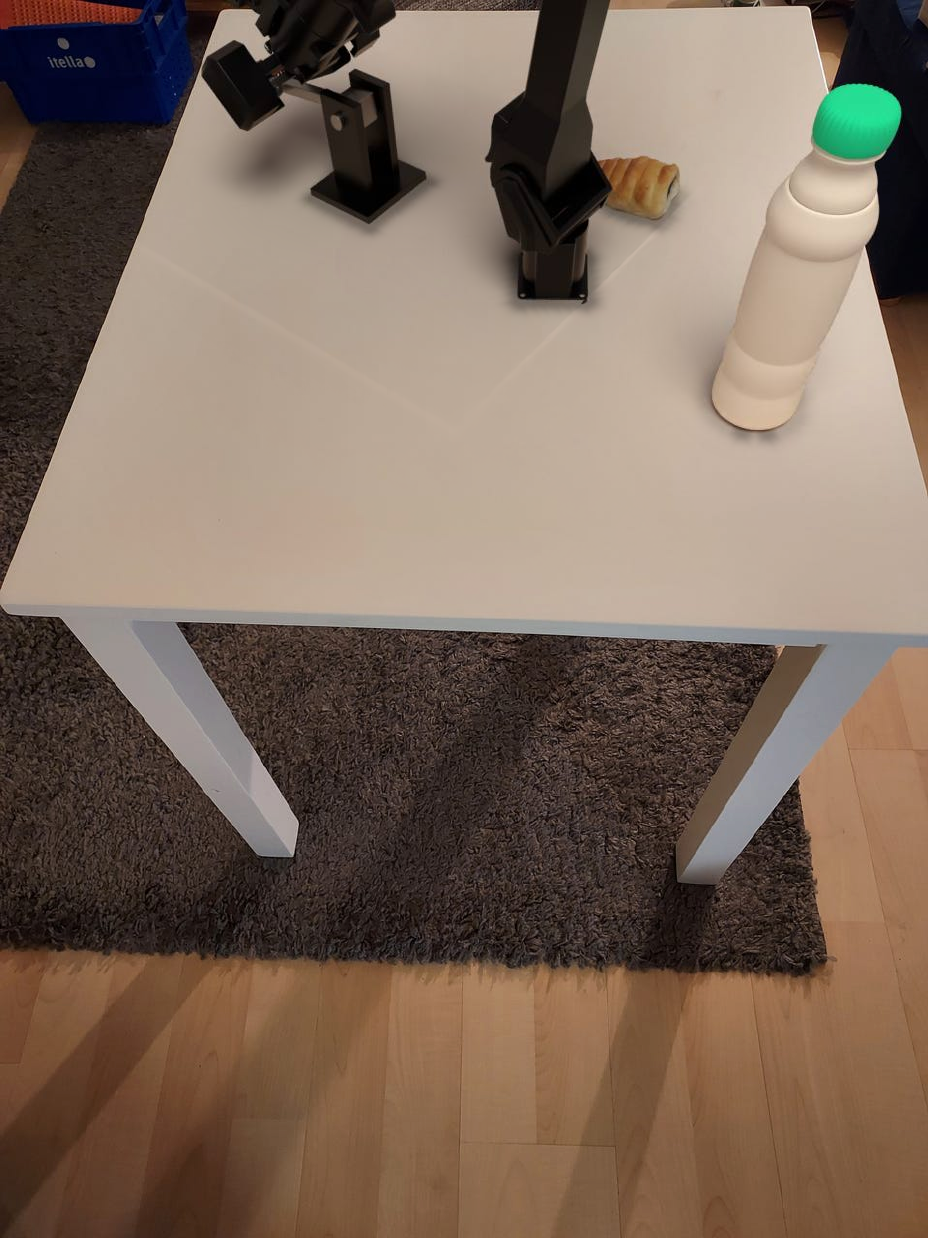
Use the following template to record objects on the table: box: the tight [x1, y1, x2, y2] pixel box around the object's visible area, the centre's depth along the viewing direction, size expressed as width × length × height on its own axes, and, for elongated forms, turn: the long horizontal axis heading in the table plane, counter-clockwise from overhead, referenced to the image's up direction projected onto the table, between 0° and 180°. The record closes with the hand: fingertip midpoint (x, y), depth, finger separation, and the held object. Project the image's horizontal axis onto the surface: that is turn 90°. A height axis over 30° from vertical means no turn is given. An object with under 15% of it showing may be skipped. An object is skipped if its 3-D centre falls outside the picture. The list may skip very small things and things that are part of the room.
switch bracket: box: [309, 68, 427, 225], centre depth 82 cm, size 8×9×10 cm
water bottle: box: [711, 83, 902, 431], centre depth 60 cm, size 7×7×25 cm
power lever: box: [272, 67, 378, 127], centre depth 82 cm, size 14×6×2 cm, turn 52°
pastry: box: [597, 155, 681, 220], centre depth 83 cm, size 9×7×4 cm
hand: (266, 94), depth 86 cm, fingers closed on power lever, 5 cm apart
